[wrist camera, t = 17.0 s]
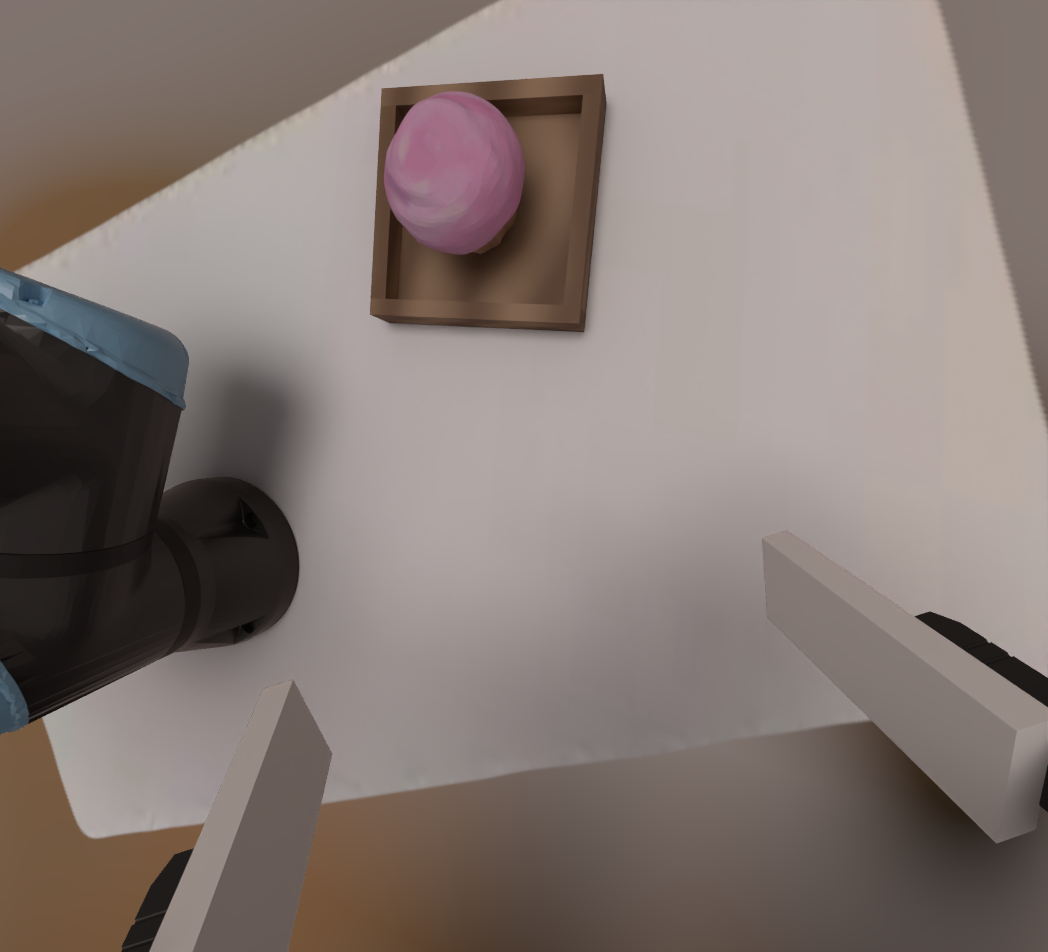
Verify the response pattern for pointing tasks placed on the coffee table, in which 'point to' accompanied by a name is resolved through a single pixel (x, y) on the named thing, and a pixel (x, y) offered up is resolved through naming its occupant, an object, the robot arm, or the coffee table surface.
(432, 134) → the cupcake
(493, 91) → the serving tray
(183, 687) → the coffee table surface
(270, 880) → the robot arm
